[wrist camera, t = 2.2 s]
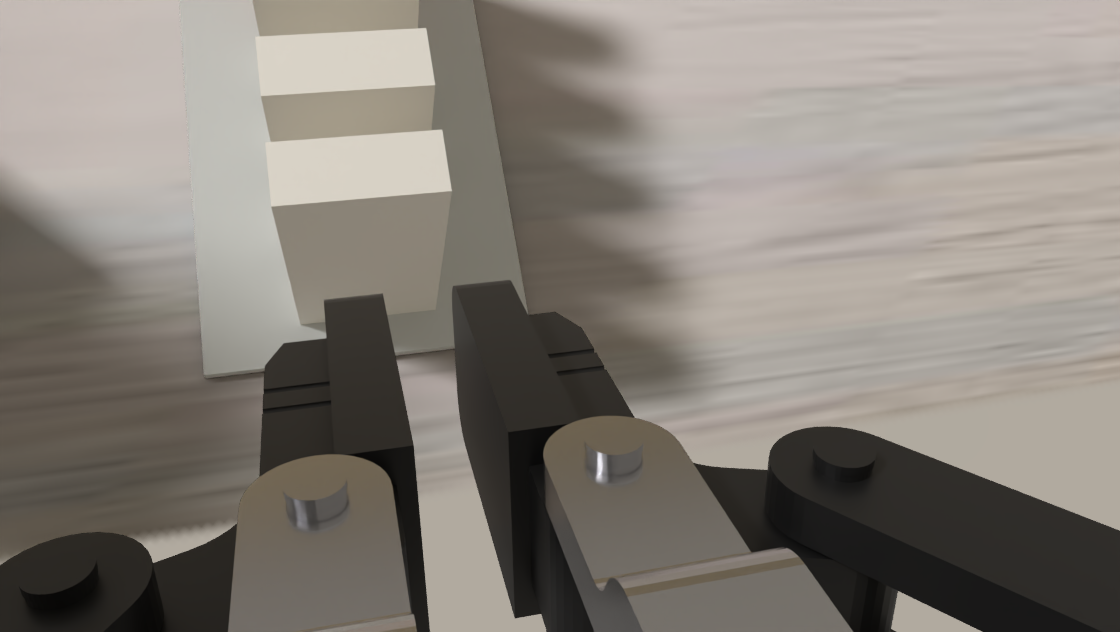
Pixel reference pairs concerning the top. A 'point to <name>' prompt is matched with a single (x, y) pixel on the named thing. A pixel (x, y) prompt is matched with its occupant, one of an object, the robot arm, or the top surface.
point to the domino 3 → (361, 218)
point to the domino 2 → (346, 83)
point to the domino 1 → (333, 16)
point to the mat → (244, 196)
